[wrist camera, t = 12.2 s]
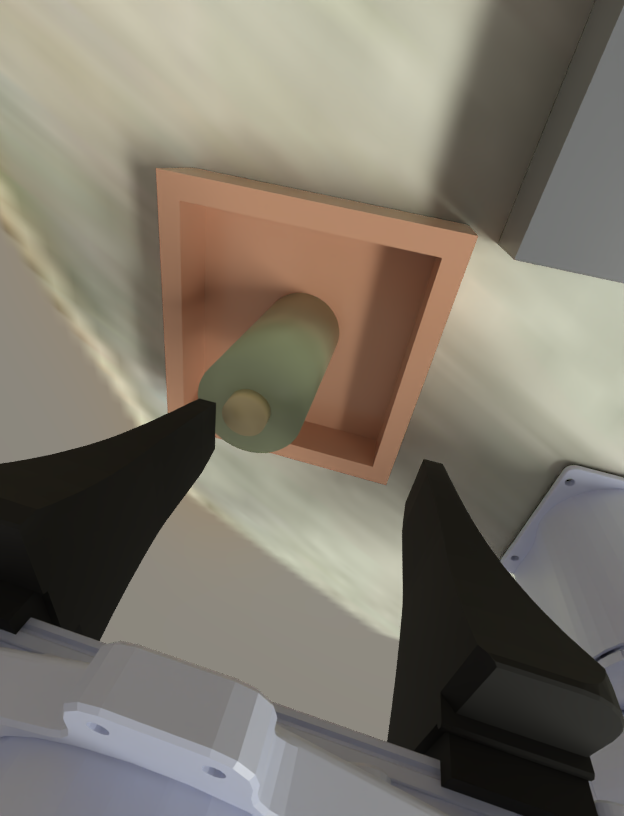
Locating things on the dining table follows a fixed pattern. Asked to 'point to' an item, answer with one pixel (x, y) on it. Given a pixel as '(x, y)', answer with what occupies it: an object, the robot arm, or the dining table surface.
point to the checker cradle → (579, 163)
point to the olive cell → (272, 374)
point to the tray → (316, 275)
